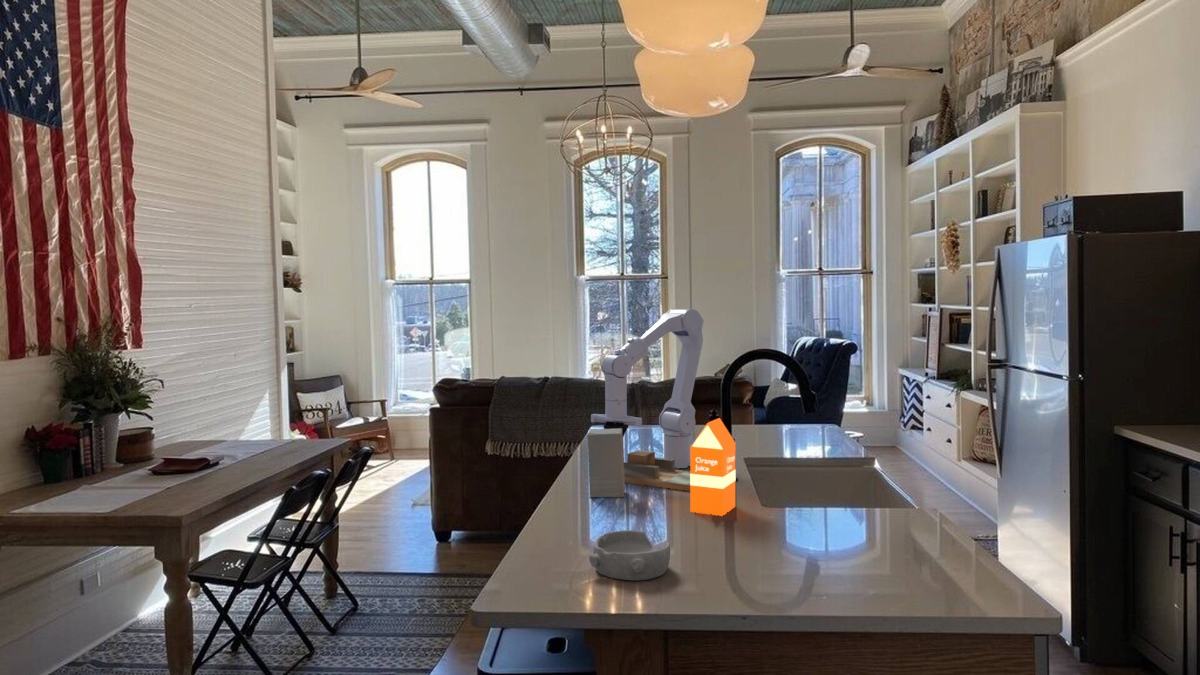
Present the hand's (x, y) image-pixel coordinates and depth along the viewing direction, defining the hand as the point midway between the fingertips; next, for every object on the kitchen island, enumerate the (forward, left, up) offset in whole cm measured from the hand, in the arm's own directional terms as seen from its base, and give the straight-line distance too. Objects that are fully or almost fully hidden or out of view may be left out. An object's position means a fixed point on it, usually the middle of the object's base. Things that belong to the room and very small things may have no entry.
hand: (616, 450), depth 210 cm
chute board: (0, +13, -7) cm, 14 cm away
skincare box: (+20, +9, -7) cm, 23 cm away
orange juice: (+19, +36, -7) cm, 41 cm away
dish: (+62, +38, -7) cm, 73 cm away
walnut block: (0, +8, -5) cm, 9 cm away
